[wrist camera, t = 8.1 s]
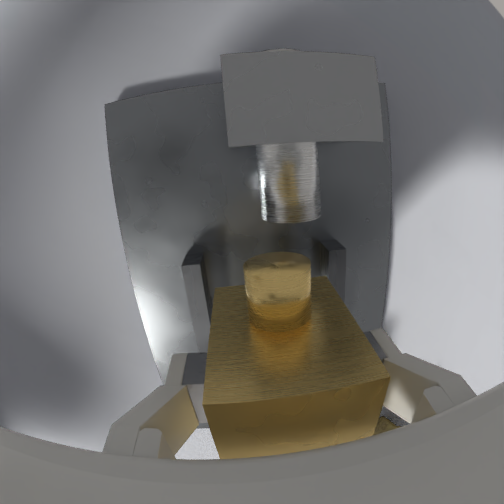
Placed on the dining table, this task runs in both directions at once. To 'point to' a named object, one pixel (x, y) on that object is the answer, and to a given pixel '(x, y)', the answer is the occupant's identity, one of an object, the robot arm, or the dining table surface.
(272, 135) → the dark grey baseplate
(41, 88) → the dining table surface
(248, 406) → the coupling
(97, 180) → the dining table surface
